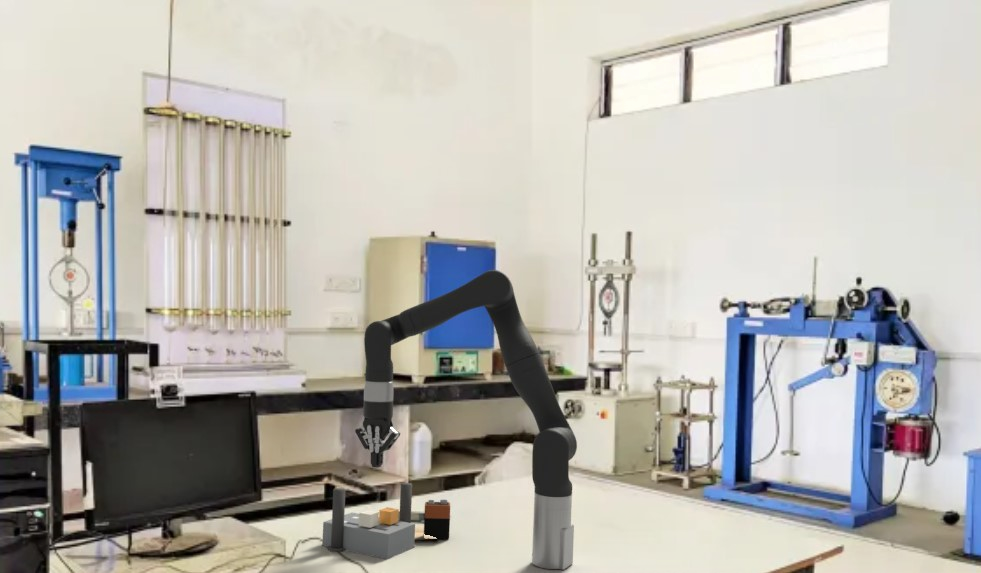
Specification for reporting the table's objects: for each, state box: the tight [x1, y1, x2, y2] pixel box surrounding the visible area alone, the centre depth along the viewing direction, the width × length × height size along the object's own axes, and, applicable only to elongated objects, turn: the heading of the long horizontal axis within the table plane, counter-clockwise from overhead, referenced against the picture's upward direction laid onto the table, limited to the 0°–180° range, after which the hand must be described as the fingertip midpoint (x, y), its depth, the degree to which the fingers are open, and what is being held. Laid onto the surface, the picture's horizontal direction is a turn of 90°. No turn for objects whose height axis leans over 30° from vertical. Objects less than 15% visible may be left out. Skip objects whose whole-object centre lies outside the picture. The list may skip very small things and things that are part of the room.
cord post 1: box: [327, 487, 346, 553], centre depth 210 cm, size 4×4×15 cm
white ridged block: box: [358, 509, 379, 528], centre depth 210 cm, size 4×4×3 cm
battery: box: [423, 499, 451, 541], centre depth 224 cm, size 4×7×10 cm, turn 93°
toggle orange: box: [378, 507, 400, 525], centre depth 213 cm, size 4×4×3 cm
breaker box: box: [322, 512, 416, 560], centre depth 214 cm, size 20×12×6 cm, turn 63°
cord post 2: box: [398, 482, 413, 523], centre depth 219 cm, size 4×4×15 cm
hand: (376, 466), depth 214 cm, fingers closed
